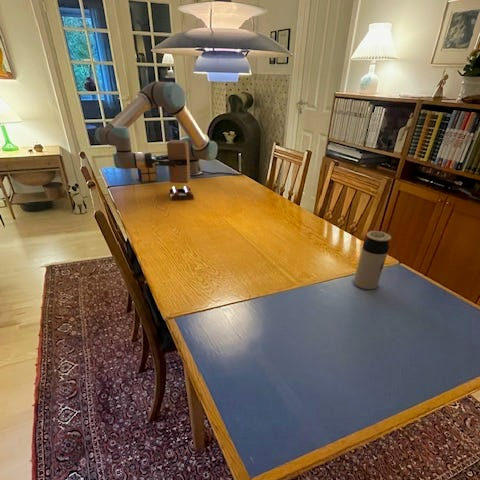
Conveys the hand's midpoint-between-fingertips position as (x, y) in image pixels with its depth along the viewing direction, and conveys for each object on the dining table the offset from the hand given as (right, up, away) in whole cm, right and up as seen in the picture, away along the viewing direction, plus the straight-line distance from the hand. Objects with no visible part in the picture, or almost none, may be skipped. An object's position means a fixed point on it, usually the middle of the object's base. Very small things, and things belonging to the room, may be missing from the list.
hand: (185, 159), depth 186 cm
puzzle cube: (-31, +4, +38) cm, 49 cm away
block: (-4, -9, +6) cm, 12 cm away
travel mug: (+73, -75, -66) cm, 124 cm away
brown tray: (-4, -16, +11) cm, 20 cm away
